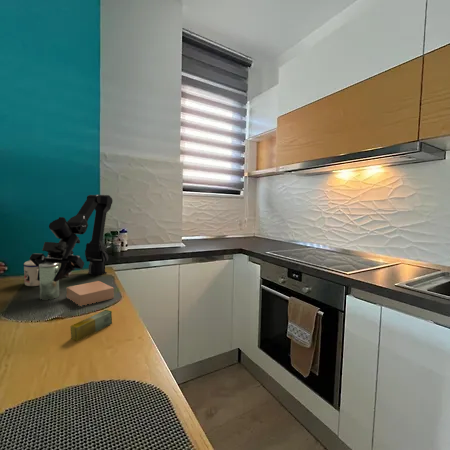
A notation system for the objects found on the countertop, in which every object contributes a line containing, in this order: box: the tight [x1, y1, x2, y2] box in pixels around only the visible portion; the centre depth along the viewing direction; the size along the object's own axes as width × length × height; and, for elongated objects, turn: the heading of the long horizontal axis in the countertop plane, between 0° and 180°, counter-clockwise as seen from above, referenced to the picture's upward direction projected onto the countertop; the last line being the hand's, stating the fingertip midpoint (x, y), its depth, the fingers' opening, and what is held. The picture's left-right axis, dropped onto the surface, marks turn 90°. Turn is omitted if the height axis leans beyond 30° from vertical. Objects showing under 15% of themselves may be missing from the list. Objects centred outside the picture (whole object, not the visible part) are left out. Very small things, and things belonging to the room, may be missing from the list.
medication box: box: [70, 309, 113, 342], centre depth 78 cm, size 12×3×4 cm, turn 157°
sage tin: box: [39, 262, 60, 301], centre depth 101 cm, size 6×6×13 cm
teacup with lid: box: [23, 259, 40, 287], centre depth 115 cm, size 12×9×12 cm
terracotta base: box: [66, 280, 115, 307], centre depth 102 cm, size 12×12×4 cm
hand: (46, 280), depth 100 cm, fingers closed on sage tin, 6 cm apart
